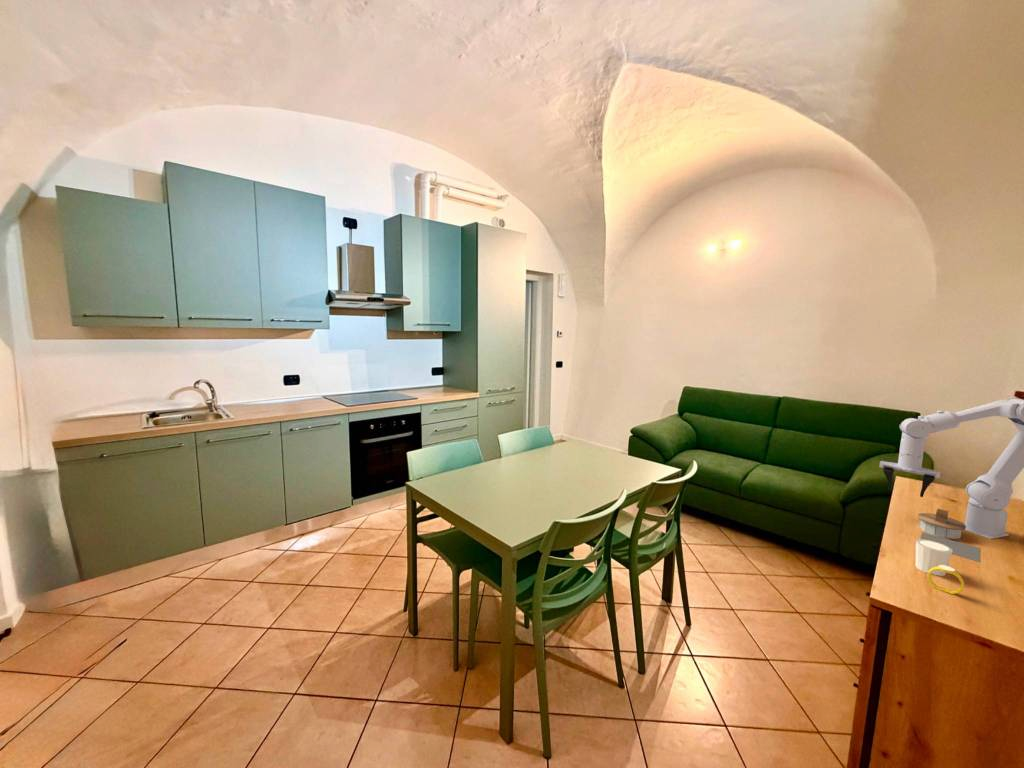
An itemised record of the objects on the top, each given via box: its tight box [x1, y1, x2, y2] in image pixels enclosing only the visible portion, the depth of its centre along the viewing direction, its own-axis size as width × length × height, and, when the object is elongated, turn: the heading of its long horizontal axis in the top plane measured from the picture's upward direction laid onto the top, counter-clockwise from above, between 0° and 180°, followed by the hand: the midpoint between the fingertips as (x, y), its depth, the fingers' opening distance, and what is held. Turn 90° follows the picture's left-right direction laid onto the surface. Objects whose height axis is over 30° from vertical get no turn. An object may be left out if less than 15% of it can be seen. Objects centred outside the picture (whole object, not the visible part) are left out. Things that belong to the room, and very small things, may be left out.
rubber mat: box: [919, 532, 981, 563], centre depth 119 cm, size 12×12×1 cm
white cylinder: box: [915, 538, 953, 577], centre depth 106 cm, size 7×7×7 cm
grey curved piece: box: [919, 519, 963, 540], centre depth 128 cm, size 9×9×4 cm
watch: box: [927, 565, 965, 595], centre depth 98 cm, size 6×3×6 cm, turn 38°
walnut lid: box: [917, 508, 966, 531], centre depth 127 cm, size 10×10×4 cm
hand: (905, 492), depth 136 cm, fingers open, 7 cm apart
